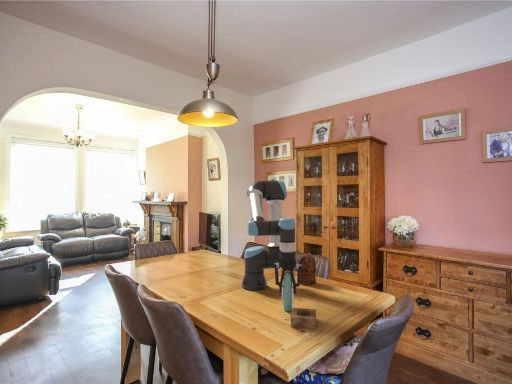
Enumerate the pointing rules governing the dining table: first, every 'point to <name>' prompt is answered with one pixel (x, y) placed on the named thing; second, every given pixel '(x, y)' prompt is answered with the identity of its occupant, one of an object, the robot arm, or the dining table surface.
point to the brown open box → (303, 318)
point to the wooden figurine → (307, 269)
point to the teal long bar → (287, 291)
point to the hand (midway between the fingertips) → (287, 300)
